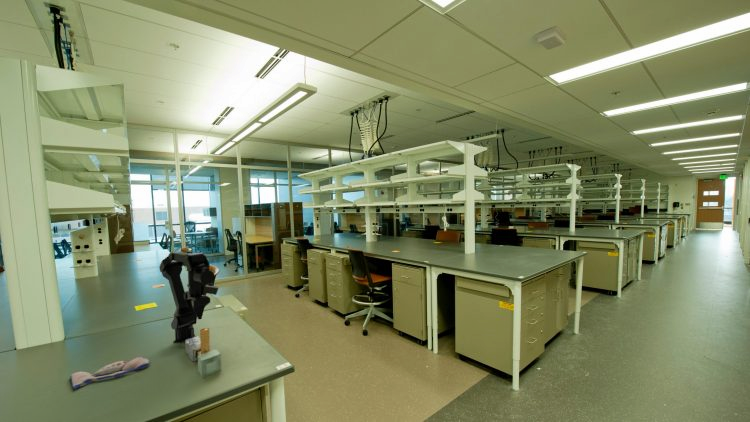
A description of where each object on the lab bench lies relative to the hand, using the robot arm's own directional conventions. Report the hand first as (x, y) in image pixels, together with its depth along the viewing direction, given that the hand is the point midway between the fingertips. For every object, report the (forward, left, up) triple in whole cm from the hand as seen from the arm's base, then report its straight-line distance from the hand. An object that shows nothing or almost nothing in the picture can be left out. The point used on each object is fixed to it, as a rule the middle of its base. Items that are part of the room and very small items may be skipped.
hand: (197, 316), depth 123 cm
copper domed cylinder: (+10, -16, -12) cm, 22 cm away
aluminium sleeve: (+3, -7, -13) cm, 15 cm away
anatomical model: (-22, -17, -14) cm, 31 cm away
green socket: (+15, -22, -13) cm, 29 cm away
